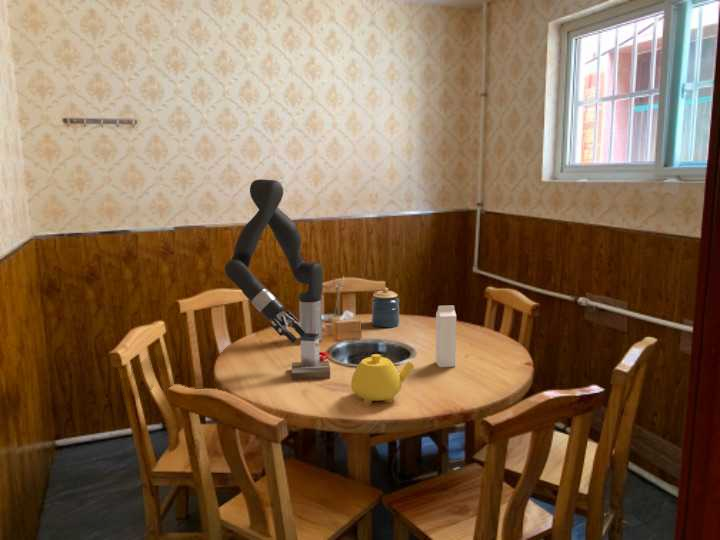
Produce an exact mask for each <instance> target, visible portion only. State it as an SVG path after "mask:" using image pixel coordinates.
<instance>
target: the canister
mask: <svg viewBox="0 0 720 540" xmlns="http://www.w3.org/2000/svg"><path fill="white" fill-rule="evenodd" d="M371 302H372V306H371V324H373V325H375V326H378V327H377V328H380V327H391V328H396V327H399V325H400V306H399V302H400V298H398V294H397V293H396V292H395V291H392V290H389V289H388V287H383V288H382V290H379V291H376V292H375V293H373V298H372V299H371ZM373 325H372V326H373ZM375 326H374V327H375ZM395 326H396V327H395Z"/></svg>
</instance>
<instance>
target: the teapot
mask: <svg viewBox="0 0 720 540" xmlns="http://www.w3.org/2000/svg"><path fill="white" fill-rule="evenodd" d="M394 364H395V363H393V362H392V361H391V360H390V359H389V358H387V357H384V356H382V355H381V354H378V353H375V354H373V353H372V354H371V355H370V356H369V357H365V358H363V359H362V360H361V361H360V362H359V363H358V365H357V367H356V368H355V371H354V372H353V374H352V378H351V383H350V387H351V390H352V391H353V393H354V394H355V395H356V396H357V397H359V398H361V399H362V400H363V402H362V404H363V403H364V404H363V405H371V404H373V401H377V402H378V401H384V403H387V404H391V403H394V402H393V401H394V399H393V398H394V397H395V396H397V394H399V392H400V391H401V388H402V383H403V382H404V380H405V379H406V378H407V376H408V375H409V374H410V373H411V371H413V369H414V368H415V364H413V363H412V362H411V361H407V362H406V363H405V365H404V366H403V367H402V369H401V370H400V371H398V370H397V368H396V366H395V365H394Z"/></svg>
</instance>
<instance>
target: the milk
mask: <svg viewBox="0 0 720 540" xmlns="http://www.w3.org/2000/svg"><path fill="white" fill-rule="evenodd" d="M456 349H457V314H456V310H455V305H438V307H437V311H436V313H435V363H436V364H437V366H438V367H439V368H455V367H456V359H457V358H456V352H457V351H456ZM454 366H455V367H454Z"/></svg>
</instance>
